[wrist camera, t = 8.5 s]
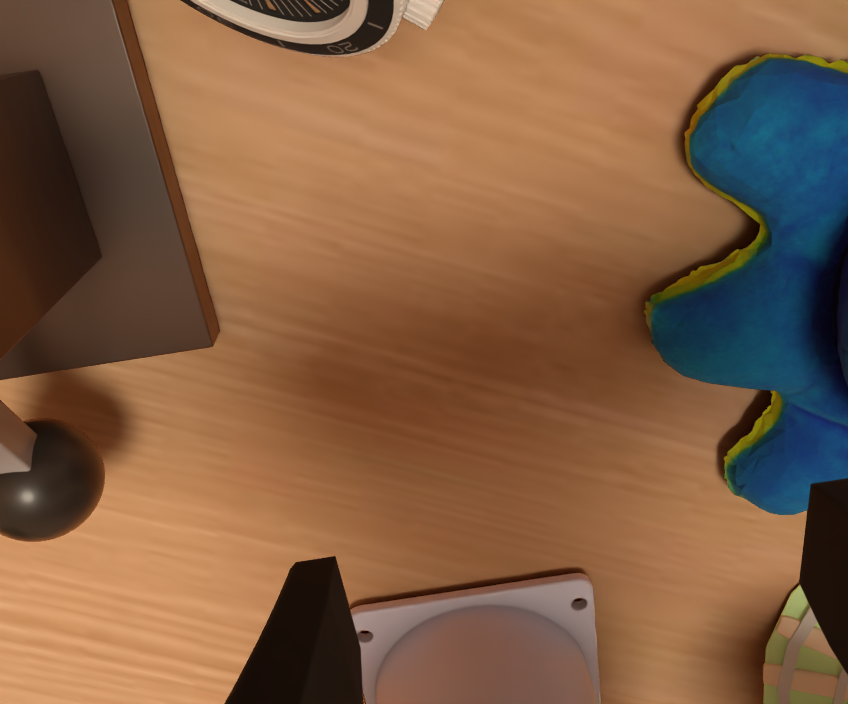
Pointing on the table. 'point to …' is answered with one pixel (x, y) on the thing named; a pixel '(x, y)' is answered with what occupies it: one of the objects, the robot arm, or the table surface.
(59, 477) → the rod arm
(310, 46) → the watch
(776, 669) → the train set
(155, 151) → the rod stand
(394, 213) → the table surface
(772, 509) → the plush toy
